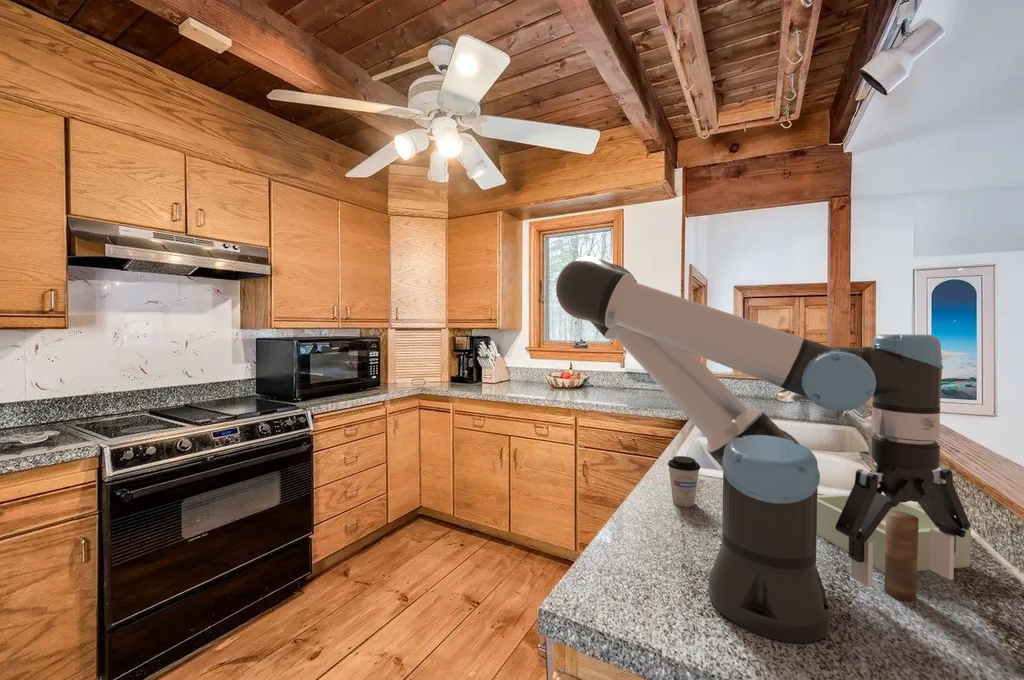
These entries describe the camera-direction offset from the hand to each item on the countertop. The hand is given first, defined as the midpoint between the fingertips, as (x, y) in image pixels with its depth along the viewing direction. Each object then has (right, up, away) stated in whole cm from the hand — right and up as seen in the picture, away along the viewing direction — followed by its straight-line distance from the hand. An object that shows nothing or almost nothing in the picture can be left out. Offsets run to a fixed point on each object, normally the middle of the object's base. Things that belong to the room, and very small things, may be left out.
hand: (901, 578), depth 65 cm
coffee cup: (-19, -2, +34) cm, 39 cm away
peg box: (+9, -2, +14) cm, 17 cm away
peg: (0, -3, 0) cm, 3 cm away
